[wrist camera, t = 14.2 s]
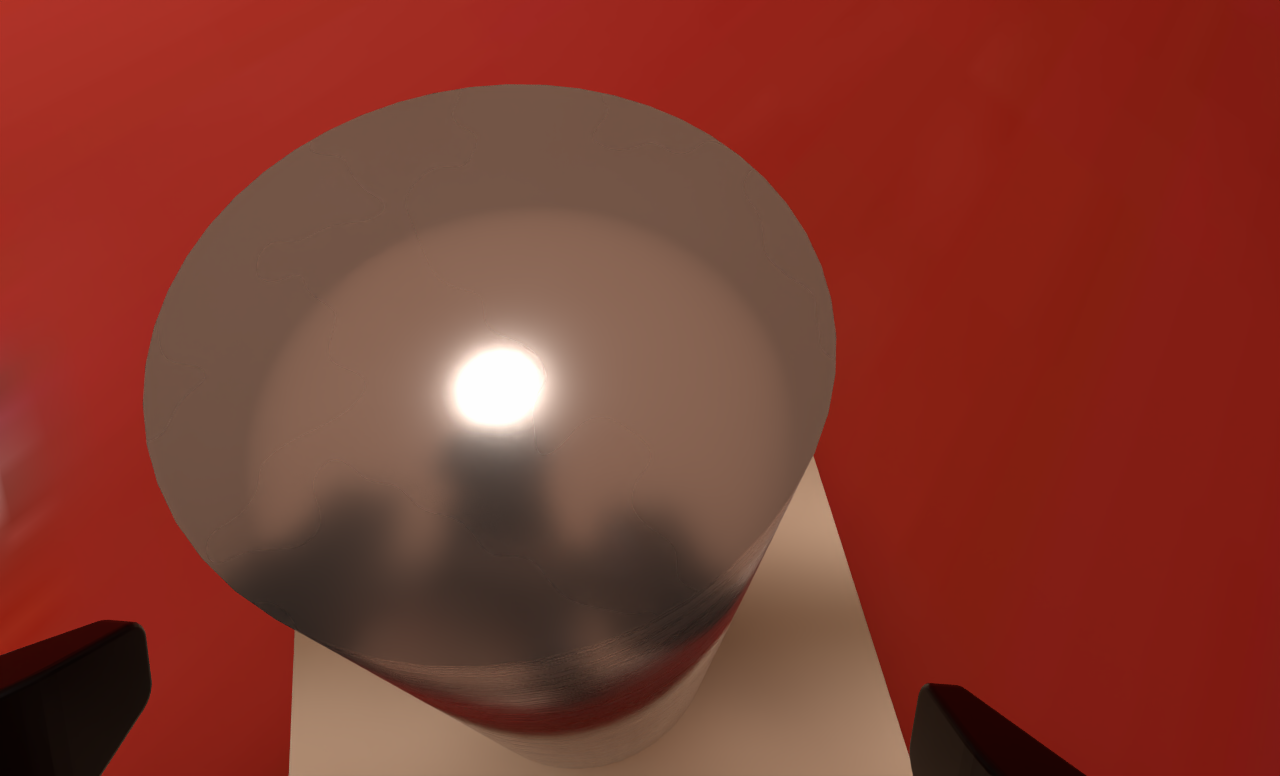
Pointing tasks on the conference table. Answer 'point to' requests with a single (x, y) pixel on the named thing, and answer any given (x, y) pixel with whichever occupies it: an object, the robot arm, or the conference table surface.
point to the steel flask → (499, 404)
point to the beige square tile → (711, 725)
